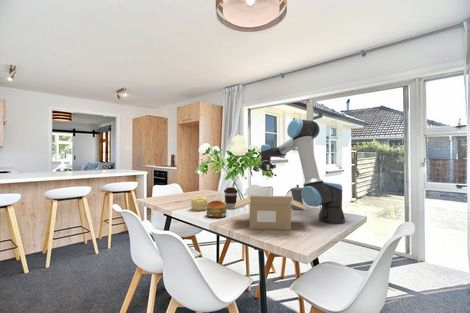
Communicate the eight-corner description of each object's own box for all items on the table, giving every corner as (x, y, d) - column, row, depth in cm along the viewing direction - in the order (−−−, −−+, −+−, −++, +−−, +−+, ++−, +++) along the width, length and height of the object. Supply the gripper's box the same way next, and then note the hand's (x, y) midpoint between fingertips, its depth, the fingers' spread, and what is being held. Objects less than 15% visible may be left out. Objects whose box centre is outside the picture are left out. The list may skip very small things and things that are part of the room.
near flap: (292, 196, 118) (292, 197, 118) (290, 203, 126) (290, 204, 125) (250, 195, 120) (250, 196, 120) (250, 202, 127) (250, 203, 127)
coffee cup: (235, 210, 170) (236, 189, 170) (222, 209, 172) (222, 188, 172) (238, 207, 180) (238, 187, 180) (225, 206, 182) (225, 186, 182)
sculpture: (191, 212, 163) (191, 196, 163) (190, 208, 174) (190, 193, 174) (208, 211, 165) (208, 196, 165) (206, 207, 177) (206, 193, 177)
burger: (201, 216, 153) (201, 200, 153) (216, 212, 163) (216, 198, 163) (216, 220, 144) (216, 203, 144) (231, 215, 154) (231, 200, 154)
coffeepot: (294, 211, 168) (295, 186, 167) (286, 208, 176) (286, 184, 176) (310, 209, 175) (311, 184, 175) (301, 206, 183) (301, 183, 183)
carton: (298, 217, 152) (298, 195, 152) (307, 230, 125) (307, 204, 125) (237, 215, 155) (237, 193, 155) (233, 228, 128) (233, 202, 128)
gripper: (275, 170, 172) (278, 173, 148) (257, 170, 173) (257, 173, 149) (275, 160, 172) (278, 161, 148) (257, 160, 173) (257, 161, 149)
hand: (268, 167), depth 149 cm, fingers closed
